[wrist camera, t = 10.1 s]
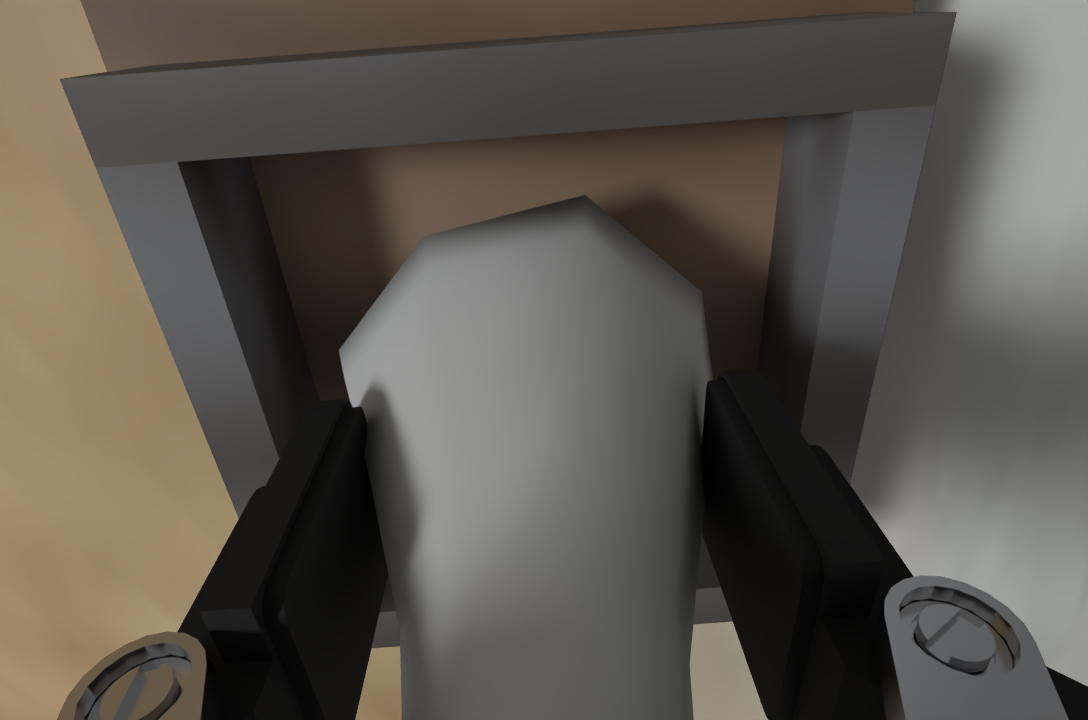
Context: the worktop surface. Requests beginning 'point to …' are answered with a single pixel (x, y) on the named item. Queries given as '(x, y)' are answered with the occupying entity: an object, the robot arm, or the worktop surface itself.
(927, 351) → the worktop surface
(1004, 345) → the worktop surface
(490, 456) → the flask
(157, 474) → the worktop surface
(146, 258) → the board
